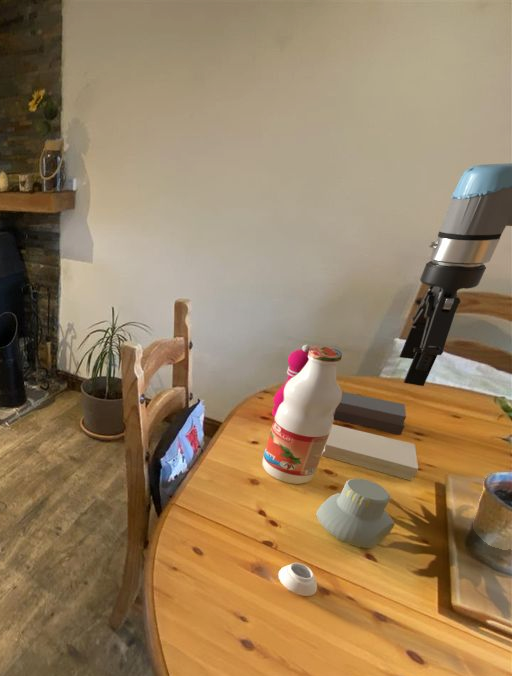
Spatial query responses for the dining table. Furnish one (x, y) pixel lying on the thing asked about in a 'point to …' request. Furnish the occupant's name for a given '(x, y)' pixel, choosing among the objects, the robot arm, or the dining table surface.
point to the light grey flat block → (369, 464)
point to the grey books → (371, 413)
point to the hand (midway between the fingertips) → (410, 370)
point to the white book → (373, 448)
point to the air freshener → (357, 514)
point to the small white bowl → (298, 579)
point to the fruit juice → (304, 419)
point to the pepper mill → (292, 372)
